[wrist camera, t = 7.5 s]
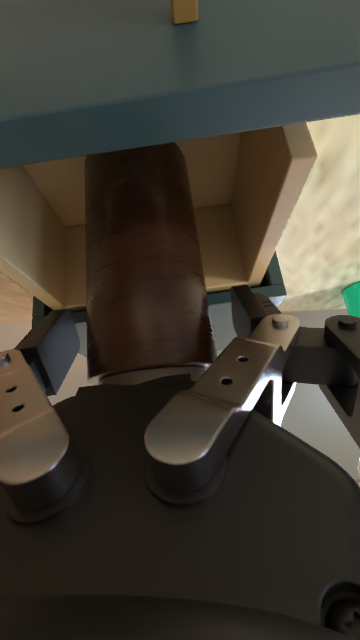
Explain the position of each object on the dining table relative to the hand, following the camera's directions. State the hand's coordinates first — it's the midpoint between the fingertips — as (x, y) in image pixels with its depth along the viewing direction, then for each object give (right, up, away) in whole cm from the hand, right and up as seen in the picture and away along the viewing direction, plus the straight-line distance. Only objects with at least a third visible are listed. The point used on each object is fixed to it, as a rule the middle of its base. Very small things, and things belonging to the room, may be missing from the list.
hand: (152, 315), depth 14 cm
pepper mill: (-1, +7, +1) cm, 8 cm away
